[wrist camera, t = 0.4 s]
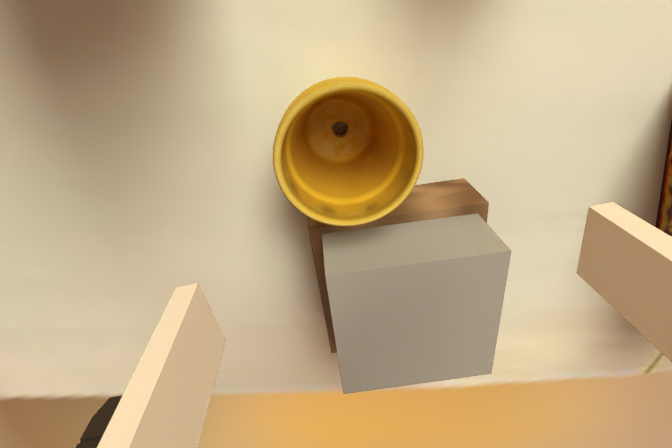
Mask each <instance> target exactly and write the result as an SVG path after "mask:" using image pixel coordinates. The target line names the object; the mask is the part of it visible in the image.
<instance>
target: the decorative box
mask: <svg viewBox="0 0 672 448" xmlns="http://www.w3.org/2000/svg"><path fill="white" fill-rule="evenodd" d="M656 228H658V229H659V230H661V231H663V232H664V233H666V234H668V235H669V236H671V237H672V122H671V129H670V135H669V142H668V149H667V155H666V162H665V168H664V175H663V182H662V188H661V195H660V202H659V208H658V215H657V221H656Z"/></svg>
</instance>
